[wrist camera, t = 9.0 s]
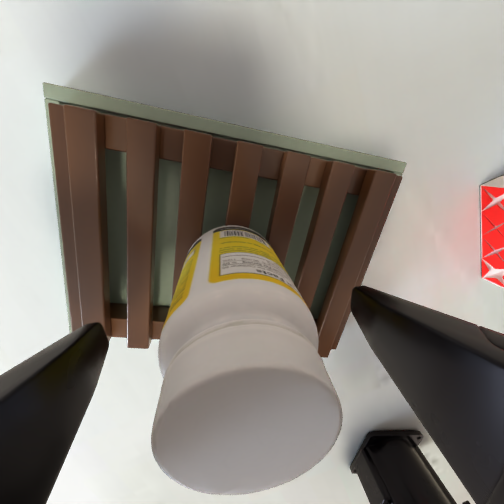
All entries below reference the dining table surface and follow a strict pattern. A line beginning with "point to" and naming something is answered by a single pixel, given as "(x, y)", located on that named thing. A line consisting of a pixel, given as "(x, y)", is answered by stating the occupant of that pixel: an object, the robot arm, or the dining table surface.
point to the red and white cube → (492, 231)
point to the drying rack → (201, 215)
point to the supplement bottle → (240, 372)
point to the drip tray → (214, 198)
